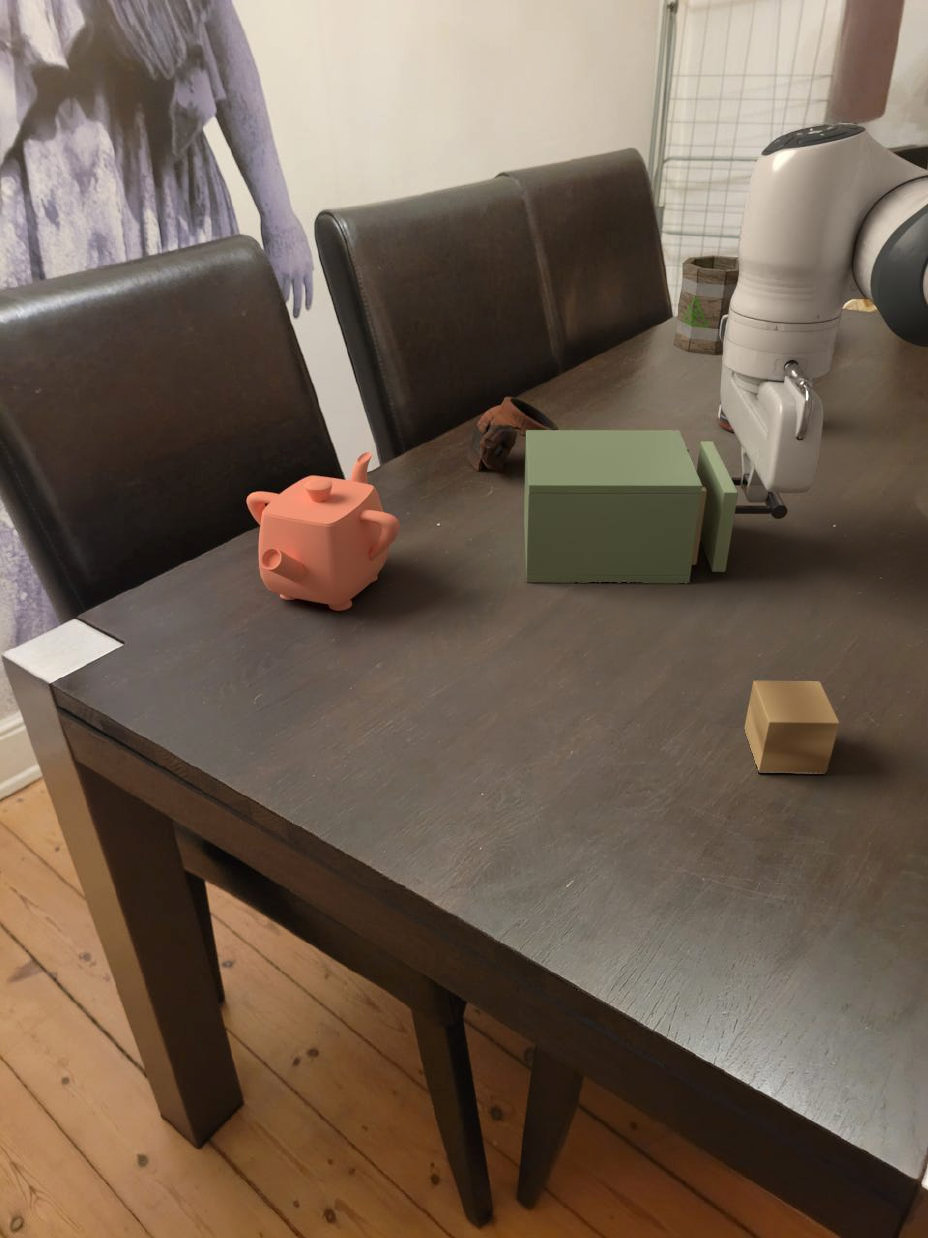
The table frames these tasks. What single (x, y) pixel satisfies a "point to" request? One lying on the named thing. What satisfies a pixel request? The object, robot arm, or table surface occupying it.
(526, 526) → the cabinet
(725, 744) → the table surface
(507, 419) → the pottery mug
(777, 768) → the block
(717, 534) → the drawer
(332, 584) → the teapot
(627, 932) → the table surface
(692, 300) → the mug
